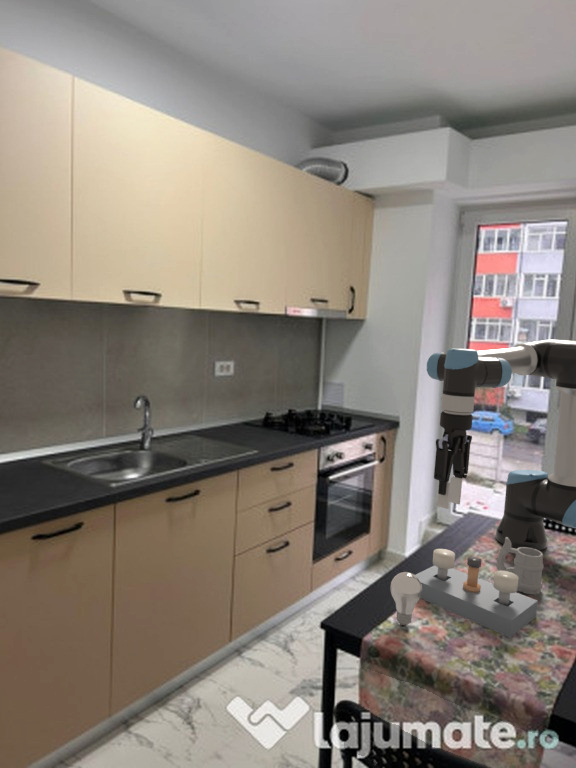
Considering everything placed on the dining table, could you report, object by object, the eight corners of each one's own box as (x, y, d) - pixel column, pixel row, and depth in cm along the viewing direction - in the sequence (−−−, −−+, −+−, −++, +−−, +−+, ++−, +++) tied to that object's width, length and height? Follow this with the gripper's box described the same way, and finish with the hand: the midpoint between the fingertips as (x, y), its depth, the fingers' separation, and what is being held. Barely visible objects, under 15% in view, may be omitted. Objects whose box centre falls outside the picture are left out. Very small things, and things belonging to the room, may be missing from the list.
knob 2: (497, 596, 135) (500, 568, 134) (519, 605, 132) (522, 576, 131) (487, 603, 132) (490, 574, 131) (509, 612, 128) (512, 582, 127)
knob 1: (438, 573, 147) (440, 547, 146) (456, 580, 143) (458, 553, 142) (427, 578, 143) (429, 552, 142) (445, 586, 139) (448, 558, 138)
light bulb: (384, 616, 130) (388, 566, 128) (414, 617, 130) (418, 566, 129) (391, 633, 123) (395, 580, 121) (423, 633, 123) (427, 580, 122)
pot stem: (468, 583, 140) (470, 554, 139) (483, 589, 137) (486, 560, 136) (459, 588, 137) (462, 558, 136) (475, 594, 134) (478, 564, 134)
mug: (537, 598, 143) (542, 552, 142) (490, 583, 150) (494, 539, 149) (545, 587, 149) (550, 543, 148) (499, 574, 156) (503, 531, 155)
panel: (437, 577, 152) (439, 563, 151) (536, 616, 133) (537, 600, 133) (408, 592, 142) (409, 577, 141) (509, 637, 124) (511, 620, 123)
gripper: (461, 407, 147) (453, 494, 150) (423, 412, 135) (415, 507, 137) (488, 411, 142) (480, 502, 144) (451, 417, 129) (443, 516, 132)
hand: (448, 504), depth 141 cm, fingers open, 5 cm apart
